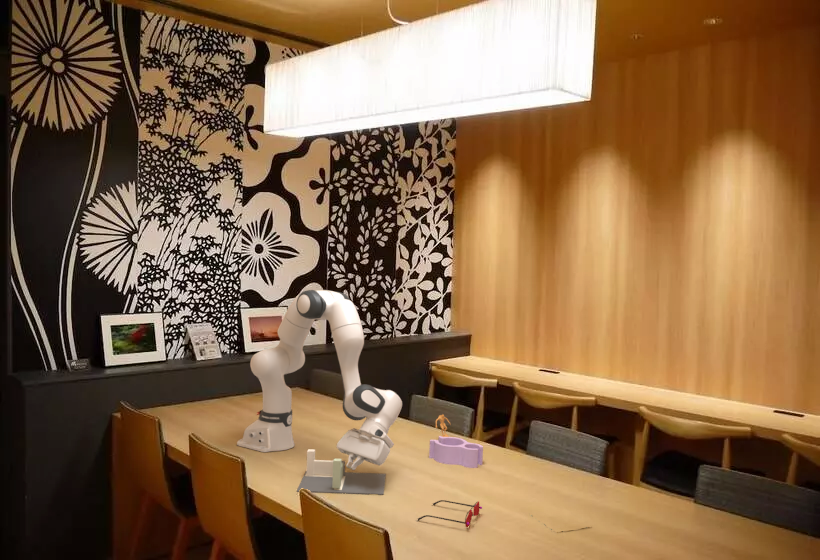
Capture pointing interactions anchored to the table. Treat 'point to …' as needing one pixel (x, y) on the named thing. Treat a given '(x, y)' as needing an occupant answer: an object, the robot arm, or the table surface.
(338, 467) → the gate
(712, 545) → the table surface
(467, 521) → the glasses
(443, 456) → the lilac double-ring holder
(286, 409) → the robot arm
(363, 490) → the board
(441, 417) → the figurine
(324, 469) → the fixed fence
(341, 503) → the table surface
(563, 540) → the table surface
